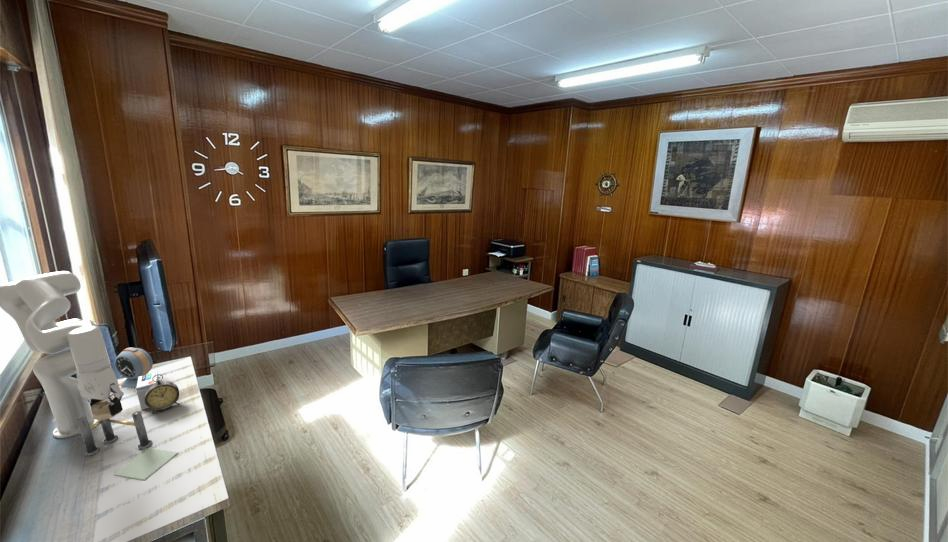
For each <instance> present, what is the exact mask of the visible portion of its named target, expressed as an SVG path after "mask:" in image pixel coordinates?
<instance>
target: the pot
mask: <svg viewBox="0 0 948 542" xmlns="http://www.w3.org/2000/svg"><path fill="white" fill-rule="evenodd" d="M110 398H111V399H112V400H113V399H114V398H115V397H114V396H112V397H110ZM108 405H110V404H109V403H108V401H107V400H106V399H105V400H101V401H99V402H97V403H95V404H93V405H92V407H91V406H90V407H91V411H92V415H93V418H94V420H104V419H108V418H109V419H112V418H113V417H115V416H117V415H119V414H121V412H119V413H117V414H115V415H114V416H112V415H111V414H110V410H109V407H108Z"/></svg>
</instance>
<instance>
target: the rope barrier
mask: <svg viewBox="0 0 948 542" xmlns="http://www.w3.org/2000/svg"><path fill="white" fill-rule="evenodd" d="M142 414H143V413H142V410H141V411H139V410H138V411H134V412H132V414H131V417H132V419H133V421H132V422H131V421H127V420H120V419H119V420H118V419H112V418H108V419H104V420H100V421H99V422H98V423H96V424H94V425H93V426H91V427H90V426H89V423H88V420H87V417H82V418H79V419H78V420H77V423H78V426H79V429H80V432H81V434H80V435H81V438H82V440H83V441H82V442H83V444H84V447H85V450H86V451H85V452H84V453H83V455H84V457H92V456H94V455H96V454H98V453H99V452H100V451H101V447H100V446H96V442H95V439H94V436H93V432H92V430H93V429H94V428H96V427H98V426H100V425H101V429H102V432H103V434H104V439H103V441H102V443H103V444H104V445H109V444H112V443H114V442H116V441H117V440H119V435H117V434H115V432H114V429H113V426H112V423H113V424H118V425H119V424H120V425H126V426H133V427H135V431H136V434H137V438H138V440H139V444H138V445H137V450H139V451H140V450H147V449H148V448H151V446H152V445H153V441H152V440H149V437H148V434H147V429H146V426H145V422H144V418H143V415H142Z"/></svg>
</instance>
